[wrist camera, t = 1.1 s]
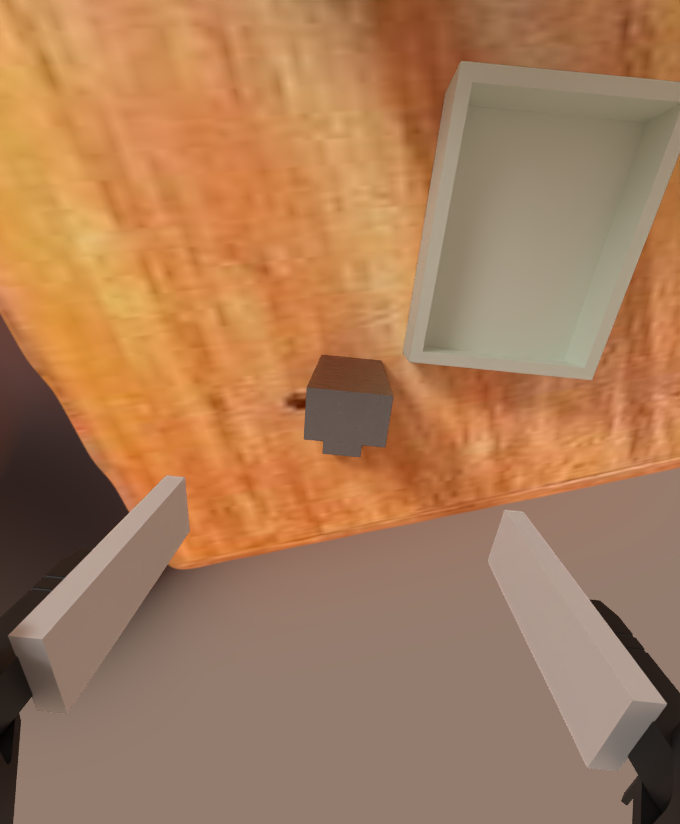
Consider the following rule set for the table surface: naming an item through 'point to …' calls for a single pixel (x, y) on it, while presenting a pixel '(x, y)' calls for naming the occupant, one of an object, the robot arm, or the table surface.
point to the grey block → (348, 405)
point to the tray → (537, 215)
